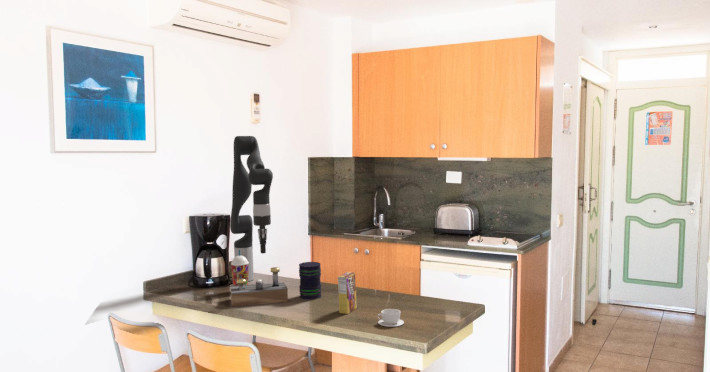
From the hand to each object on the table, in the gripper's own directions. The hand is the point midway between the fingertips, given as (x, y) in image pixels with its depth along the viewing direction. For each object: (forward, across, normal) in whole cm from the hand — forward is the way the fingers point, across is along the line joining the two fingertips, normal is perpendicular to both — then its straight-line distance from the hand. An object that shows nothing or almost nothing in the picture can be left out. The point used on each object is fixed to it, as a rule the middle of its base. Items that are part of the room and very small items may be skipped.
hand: (263, 253), depth 253 cm
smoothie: (+21, -18, -10) cm, 30 cm away
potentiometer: (+15, +4, -2) cm, 16 cm away
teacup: (+22, +46, +45) cm, 68 cm away
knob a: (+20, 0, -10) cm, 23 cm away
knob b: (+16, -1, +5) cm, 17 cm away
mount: (+21, 0, -2) cm, 21 cm away
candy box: (+22, +26, +32) cm, 47 cm away
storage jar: (+21, 0, +20) cm, 30 cm away
